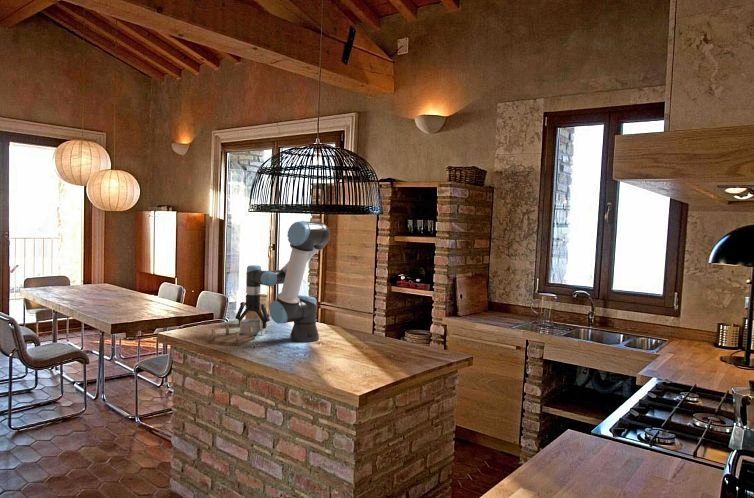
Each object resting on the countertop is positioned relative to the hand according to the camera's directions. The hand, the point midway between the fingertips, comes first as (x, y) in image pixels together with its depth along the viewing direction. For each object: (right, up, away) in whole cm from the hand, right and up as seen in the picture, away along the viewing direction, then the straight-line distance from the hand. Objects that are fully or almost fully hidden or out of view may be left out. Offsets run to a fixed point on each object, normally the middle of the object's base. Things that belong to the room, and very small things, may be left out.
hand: (252, 333), depth 300 cm
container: (-3, +1, +25) cm, 25 cm away
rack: (-6, -1, -17) cm, 18 cm away
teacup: (+1, -1, 0) cm, 1 cm away
